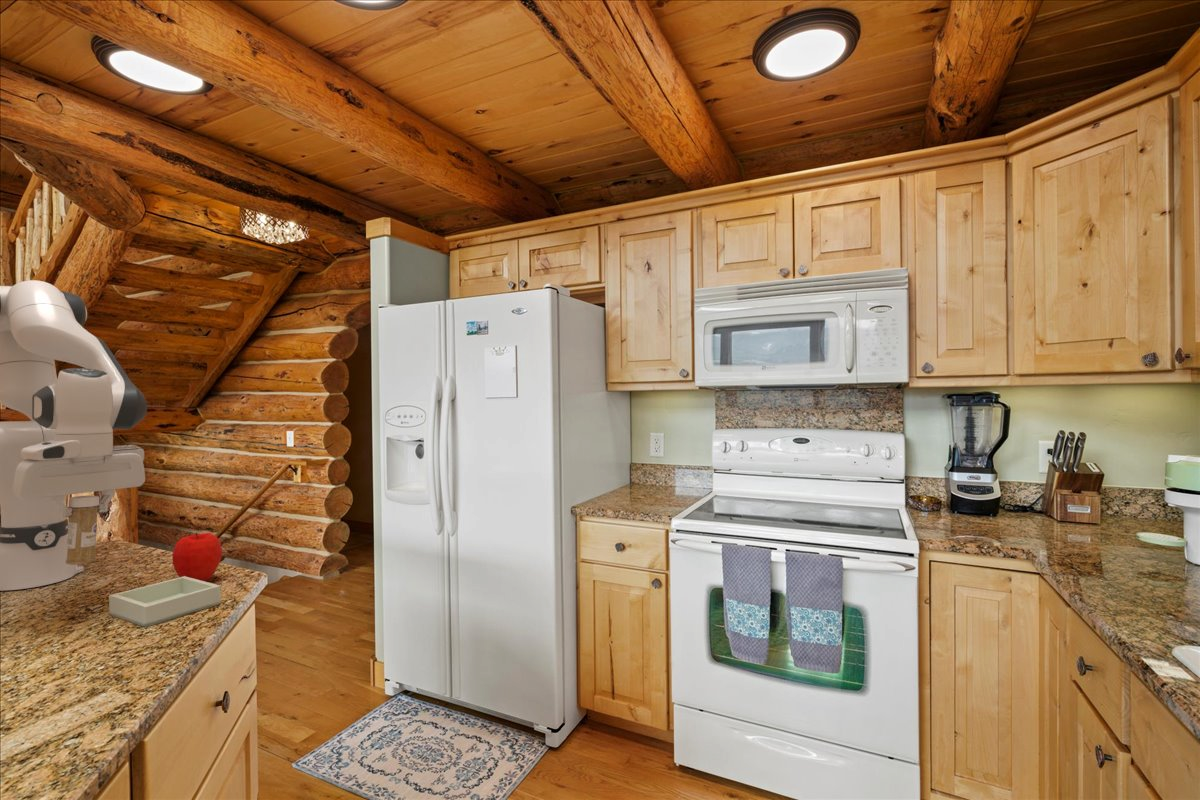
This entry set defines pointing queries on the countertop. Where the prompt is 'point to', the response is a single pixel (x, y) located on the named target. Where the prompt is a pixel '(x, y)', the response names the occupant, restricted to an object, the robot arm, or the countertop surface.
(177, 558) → the apple
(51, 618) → the countertop surface
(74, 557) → the sprinkles bottle
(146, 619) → the bin
